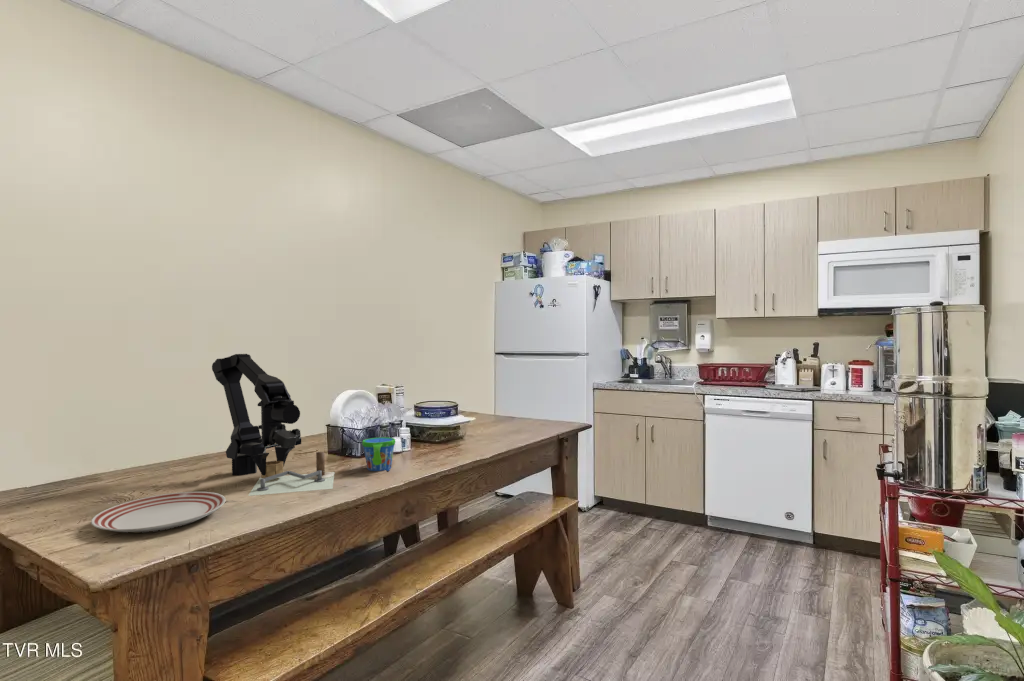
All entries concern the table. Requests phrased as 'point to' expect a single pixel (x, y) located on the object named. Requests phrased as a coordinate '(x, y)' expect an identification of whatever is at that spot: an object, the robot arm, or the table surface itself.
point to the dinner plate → (158, 512)
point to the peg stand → (321, 466)
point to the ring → (273, 468)
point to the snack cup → (379, 453)
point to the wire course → (291, 483)
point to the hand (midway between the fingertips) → (272, 472)
